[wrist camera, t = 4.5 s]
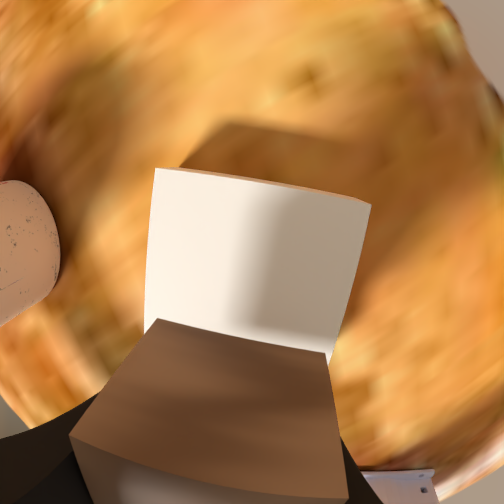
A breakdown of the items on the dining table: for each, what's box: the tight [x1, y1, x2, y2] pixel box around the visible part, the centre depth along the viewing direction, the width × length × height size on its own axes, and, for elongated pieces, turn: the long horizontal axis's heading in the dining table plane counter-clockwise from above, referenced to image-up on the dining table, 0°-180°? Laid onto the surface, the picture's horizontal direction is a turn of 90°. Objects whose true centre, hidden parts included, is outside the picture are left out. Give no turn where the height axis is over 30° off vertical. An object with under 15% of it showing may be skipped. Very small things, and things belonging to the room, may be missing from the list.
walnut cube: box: [69, 318, 349, 504], centre depth 8 cm, size 6×6×6 cm
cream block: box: [144, 167, 372, 365], centre depth 15 cm, size 9×9×4 cm
